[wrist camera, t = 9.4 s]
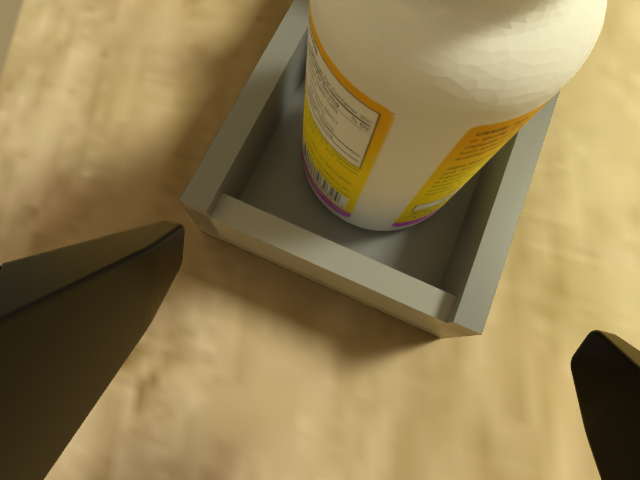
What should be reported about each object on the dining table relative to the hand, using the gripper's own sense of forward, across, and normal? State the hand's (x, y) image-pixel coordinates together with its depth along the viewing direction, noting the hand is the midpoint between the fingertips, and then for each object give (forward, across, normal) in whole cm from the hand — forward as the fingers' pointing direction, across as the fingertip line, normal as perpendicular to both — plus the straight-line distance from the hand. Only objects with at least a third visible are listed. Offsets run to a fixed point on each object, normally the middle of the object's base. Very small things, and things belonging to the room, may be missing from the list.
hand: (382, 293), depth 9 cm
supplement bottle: (+11, 0, 0) cm, 11 cm away
